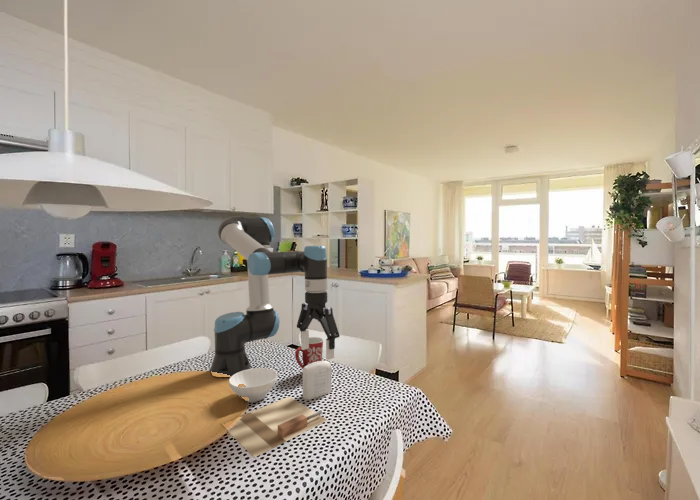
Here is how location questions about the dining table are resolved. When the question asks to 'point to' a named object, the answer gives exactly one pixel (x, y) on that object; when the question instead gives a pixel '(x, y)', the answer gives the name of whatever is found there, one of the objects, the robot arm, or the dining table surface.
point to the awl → (294, 424)
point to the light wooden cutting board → (271, 425)
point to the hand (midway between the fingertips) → (317, 353)
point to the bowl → (253, 383)
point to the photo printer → (316, 379)
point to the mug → (311, 352)
